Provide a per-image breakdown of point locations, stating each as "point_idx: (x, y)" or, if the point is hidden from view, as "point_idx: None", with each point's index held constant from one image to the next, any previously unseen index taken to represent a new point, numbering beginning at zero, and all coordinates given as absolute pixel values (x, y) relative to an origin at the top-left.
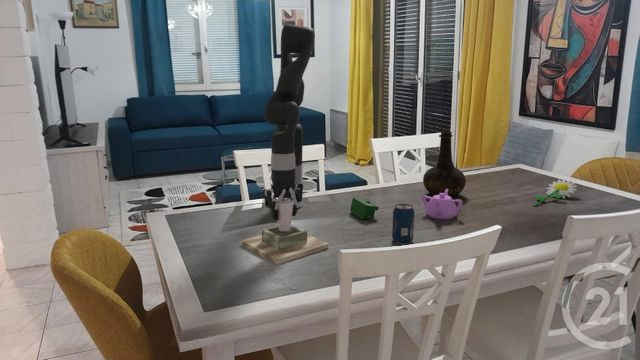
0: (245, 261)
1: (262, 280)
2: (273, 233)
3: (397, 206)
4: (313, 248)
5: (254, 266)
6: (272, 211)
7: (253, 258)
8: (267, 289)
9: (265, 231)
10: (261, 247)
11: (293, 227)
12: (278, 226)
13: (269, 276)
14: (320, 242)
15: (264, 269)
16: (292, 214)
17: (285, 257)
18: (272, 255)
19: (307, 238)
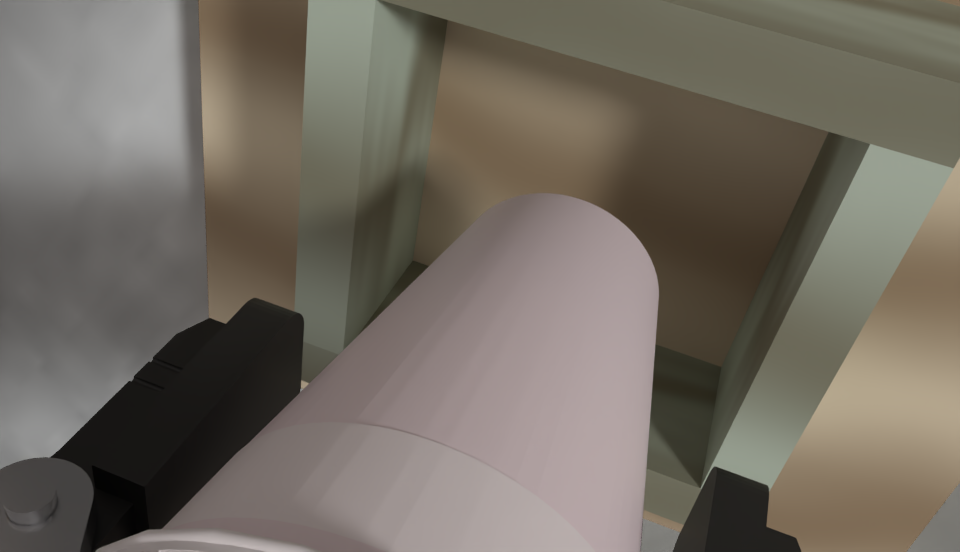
0: (45, 37)
1: (25, 365)
2: (344, 203)
3: None
4: (648, 517)
5: (70, 185)
6: (100, 447)
7: (140, 56)
8: (4, 441)
9: (309, 33)
10: (266, 30)
11: (780, 322)
12: (444, 251)
13: (88, 374)
14: (855, 531)
15: (111, 287)
16: (684, 543)
17: (302, 386)
18: (233, 272)
19: (911, 364)
